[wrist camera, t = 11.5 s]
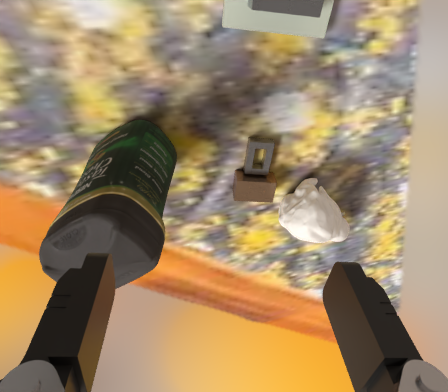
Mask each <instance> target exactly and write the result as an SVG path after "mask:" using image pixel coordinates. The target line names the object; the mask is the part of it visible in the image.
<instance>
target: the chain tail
mask: <svg viewBox="0 0 448 392" xmlns="http://www.w3.org/2000/svg"><path fill="white" fill-rule="evenodd" d="M274 145H275V143H274V140H273V139H264V138H251V137H249V138H248V144H247V150H246V156H245V162H244V168H243V169H244V171H241V170H235V176H234V183H233V196H234V201H253V202H273V198H274V194H275V190H276V186H277V182H276V179H275V176H274V173H273V172H269V168H270V163H271V159H272V154H273V150H274ZM255 148H257V149H264V154H263V159H262V164H253V159H254V154H255Z"/></svg>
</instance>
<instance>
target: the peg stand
mask: <svg viewBox="0 0 448 392" xmlns="http://www.w3.org/2000/svg"><path fill="white" fill-rule="evenodd" d="M333 3H334V0H324V3H323V7H322V11H321V15H320V18H317V17H309V16H300V15H291V14H283V13H274V12H266V11H257V10H251V9H250V8H249V7H248V6H247V5H248V0H224V8H223V18H222V26H223V27H225V28H234V29H243V30H252V31H261V32H270V33H279V34H288V35H297V36H306V37H315V38H324V37H325V33H326V29H327V25H328V22H329V18H330V14H331V10H332V6H333Z"/></svg>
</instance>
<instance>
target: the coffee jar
mask: <svg viewBox="0 0 448 392" xmlns="http://www.w3.org/2000/svg"><path fill="white" fill-rule="evenodd" d="M176 160H177V154H176V150H175V148H174V146H173V145H172V143H171V141H170V140H169V139H168V137H167V136H166V135H165V134H164V133H163V132H162V130H160V129H159V128H158V127H157V126H156V125H155V124H153V123H151V122H149V121H146V120H135V121H131V122H129V123H127V124H125V125H123V126H121V127H119V128H118V129H116V130H114V131H113V132H111V133H110V134H108V135H107V136H106V137H105V138H104V139H102V140H101V141H100V142H99V143H98V144H97V145H96V147H95V148H94V150H93V152H92V154H91V156H90V158H89V160H88V162H87V165H86V167H85V169H84V172H83V174H82V176H81V178H80V180H79V182H78V184H77V186H76V188H75V189H74V191H73V193H72V195H71V197H70V198H69V200H68V201H67V203H66V204H65V206H64V207H63V209H62V210H61V211H60V213H59V214H58V216H57V217H56V218H55V220H54V221H53V223H52V224H51V226H50V228H49V230H48V232H47V235H46V237H45V238H44V240H43V241H42V244H41V247H40V251H39V257H40V262H41V265H42V269H43V271H44V272H45V273H46V274H47V275H48V276H49V277H51V278H52V279H53V280H55V281H56V282H57V281H58V280H59V279H60V278H61V277H62V276H63V275H64V274H65V273H66V272H67V271H68V270H69V269H70V268H82V265H83V262H84V260H85V257H86V255H87V254H88V253H111V254H112V259H113V268H114V276H115V289H116V288H119V287H121V286H123V285H125V284H127V283H129V282H131V281H133V280H135V279H137V278H139V277H141V276H143V275H145V274H146V273H148V272H150V271H151V270H153V269H154V268H155V267H156V265H157V264H158V261H159V259H160V256H161V252H162V248H163V245H164V240H165V226H164V223H163V220H162V216H163V211H164V206H165V202H166V198H167V194H168V190H169V186H170V183H171V179H172V176H173V173H174V169H175V165H176Z"/></svg>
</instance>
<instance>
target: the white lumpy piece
mask: <svg viewBox="0 0 448 392" xmlns="http://www.w3.org/2000/svg"><path fill="white" fill-rule="evenodd" d="M317 182H318V180H317V179H316V178H309V179H305V180H303V181H302V182H301V184H300V185H299V186H298V187H297V188H296V191H295V192H294V193H293V194H287V195H286V196H284V197H283V198H282V200H281V205H280V207H279V222H280V224H281V225H282V226H283V227H285V228H286V229H287V230H288V231H289V232H290V233H291V234H292V235H293V236H295V237H296V238H298V239H300V240H304V241H309V242H314V243H324V242H327V241H329V240H330V241H335V242H340V241H343V240H345V239H346V238H347V236H348V234H349V224H348V222H347V221H346V220H345V219H344V218H343V217H342V216H344V215H343V214H345V213H346V212H345V213H343V212H342V213H343V214H342V213H341V210H340V209H339V206H338V205H337V204H336V202H335V201H334V200H333V199H331V198H330V197H329V195H328V194H327V193H326V191H325V190H324V188H323V187H322V186H320V187H319V192H318V190H317V189H316V187H315V185H316V184H317Z"/></svg>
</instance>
